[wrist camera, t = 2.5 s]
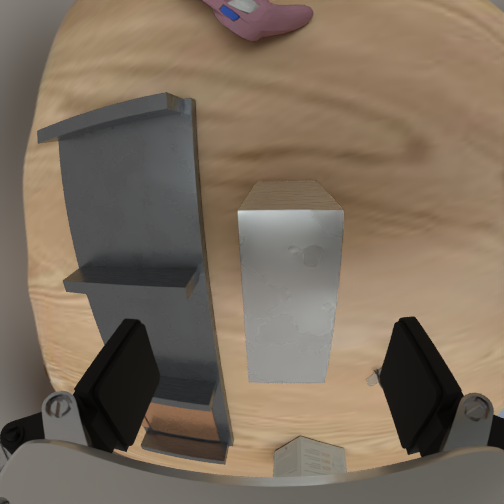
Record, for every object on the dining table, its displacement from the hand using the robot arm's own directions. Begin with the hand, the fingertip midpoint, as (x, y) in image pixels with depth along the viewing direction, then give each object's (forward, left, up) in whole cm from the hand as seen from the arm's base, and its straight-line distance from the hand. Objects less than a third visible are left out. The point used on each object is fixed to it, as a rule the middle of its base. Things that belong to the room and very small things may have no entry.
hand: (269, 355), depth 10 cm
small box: (-5, +29, -12) cm, 32 cm away
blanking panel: (-1, 0, -12) cm, 12 cm away
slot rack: (+11, +8, -12) cm, 18 cm away
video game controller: (+2, -19, -12) cm, 22 cm away
